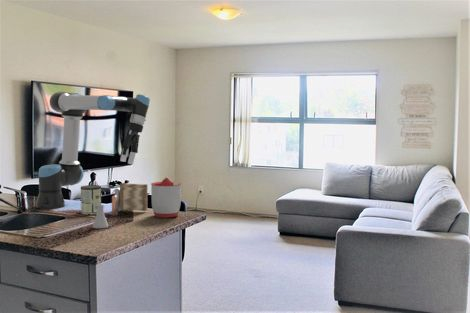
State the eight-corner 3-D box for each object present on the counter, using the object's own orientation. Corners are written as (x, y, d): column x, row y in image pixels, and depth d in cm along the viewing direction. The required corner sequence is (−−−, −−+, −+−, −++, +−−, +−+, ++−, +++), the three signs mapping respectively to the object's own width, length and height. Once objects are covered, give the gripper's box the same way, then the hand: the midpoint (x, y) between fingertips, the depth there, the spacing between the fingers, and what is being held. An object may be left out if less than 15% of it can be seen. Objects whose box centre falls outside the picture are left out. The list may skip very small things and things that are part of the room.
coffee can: (85, 210, 249) (85, 184, 248) (104, 211, 248) (104, 185, 247) (77, 214, 238) (77, 187, 237) (96, 214, 237) (96, 188, 236)
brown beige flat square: (119, 209, 248) (119, 183, 247) (121, 208, 250) (121, 183, 249) (145, 210, 245) (145, 184, 244) (147, 210, 247) (147, 184, 246)
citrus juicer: (190, 215, 239) (190, 177, 238) (163, 220, 226) (164, 180, 225) (170, 211, 250) (170, 175, 248) (144, 215, 237) (144, 177, 235)
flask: (91, 226, 212) (91, 204, 211) (107, 225, 215) (107, 203, 214) (93, 229, 205) (93, 207, 204) (109, 228, 208) (109, 206, 207)
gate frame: (115, 210, 251) (115, 188, 250) (120, 210, 251) (120, 188, 250) (110, 215, 236) (110, 192, 235) (116, 215, 236) (116, 192, 235)
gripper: (137, 120, 229) (126, 161, 227) (149, 129, 254) (139, 166, 252) (122, 117, 230) (112, 158, 228) (136, 126, 255) (126, 163, 253)
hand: (126, 162), depth 240 cm, fingers open, 13 cm apart
